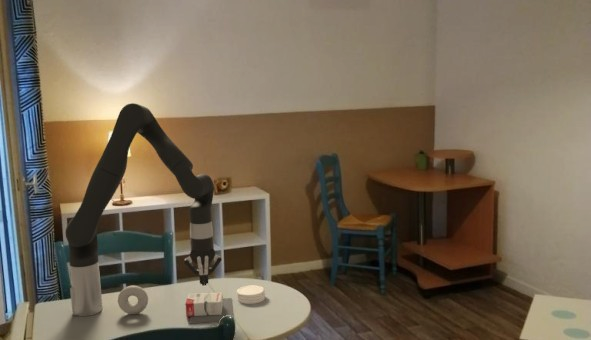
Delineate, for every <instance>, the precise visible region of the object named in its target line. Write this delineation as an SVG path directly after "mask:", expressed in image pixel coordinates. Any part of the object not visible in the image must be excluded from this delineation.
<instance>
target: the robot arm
mask: <svg viewBox="0 0 591 340" xmlns="http://www.w3.org/2000/svg"><path fill="white" fill-rule="evenodd" d="M137 134H138V135H140V136H141V137H142V138H144V139H145V140H146V141H147V142H148V143H149V144H150V145H151V146H152V147H153V149H154V151H155V152H156V154H157V156H158V157H159V159H160V161H161V162H162V164H164V166H165V167H166V168H167V169H168V170H169V172H171V173H172V175H174V177H175V178H176V181H177V183H178V185H179V186H180V189H181V190H182V192H183V193H184V194H185V195H186V196H187V197H188V198H191V199H193V200H194V202H193V203H192V205H190V207H189V238H190V239H189V240H190V252H189V256H187V257H185V258H184V260H183V263H184V264H185V265H186V266H187V268H188V269H189V270H190V271H191V272H192V273H193V274H194V275H198V276H199V284H200V285H201V286H207V285H208V284H209V274H212V273H214V272H215V270H216V268H217V267H218V265H220V263H221V261H222V256H221V255H218V254H216V250H215V246H214V245H215V244H214V229H213V222H212V204H213V199H214V191H215V189H214V188H215V187H214V186H215V185H214V181H213V180H212V178H211V176H210V175H208V174H205V173H201V174H198V175H195V174H194V173H193V171H192V170H193V168H194V164H193V163H192V161H191V159H189V157H187V155H186V154H184V152H183V151H182V150H181V149H180V147H178V146H177V145H176V144H175V143H174V142H173V140H172V139H171V138H170V137H169V136H168V135H167V133H166V132H165V131H164V129H163V128H162V126H161V125H160V124H159V122H158V120H157V119H156V117H155V115H154V114H153V113H152V111H151V110H150V109H149V108H148V107H146V106H143V105H141V104H139V103H134V102H129V103H128V104H125V105H124V106H123V107H122V109H120V111H119V113H118V116H117V118H116V121H115V124H114V127H113V129H112V132H111V135H110V137H109V139H108V142H107V144H106V146H105V148H104V150H103V152H102V155H101V157H100V158H99V160H98V162H97V164H96V166H95V168H94V171H93V172H92V175H91V176H90V178H89V179H90V180H89V181H88V184H87V186H86V191H85V192H84V197H83V199H82V202H81V204H80V206H79V208H78V210H77V211H76V213H75V215H74V216H73V217H72V218H71V219H70V220H69V221H68V224H67V225H66V227H65V238H66V240H67V243H68V249H69V251H68V252H69V253H68V254H69V255H68V263H69V270H70V271H69V272H70V281H71V287H69V291H70V302H71V303H70V304H71V312H72V316H80V317H86V316H87V317H88V316H92V315H96V314H98V313H100V312H101V311H102V310H103V299H102V288H101V275H100V264H99V263H100V261H99V244H98V243H99V242H98V241H99V240H98V233H97V232H98V231H97V230H98V229H97V228H98V225H99V222H100V220H101V217H102V215H103V213H104V211H105V209H106V208H107V206H108V205H109V203H110V201H111V200H112V198H113V197H114V195H115V194H116V191H117V190H118V188H119V186H120V184H121V182H122V180H123V177H124V176H125V173H126V170H127V167H128V156H129V149H130V146H131V145H132V143H133V141H134V139H135V137H136V135H137ZM213 260H214V261H213ZM212 261H213V263H212V264H211V262H212ZM193 262H194V263H195V264H196V265H197V267H196V266H195V265H194V264H193ZM209 264H211V266H209ZM203 265H204V268H203Z"/></svg>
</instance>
